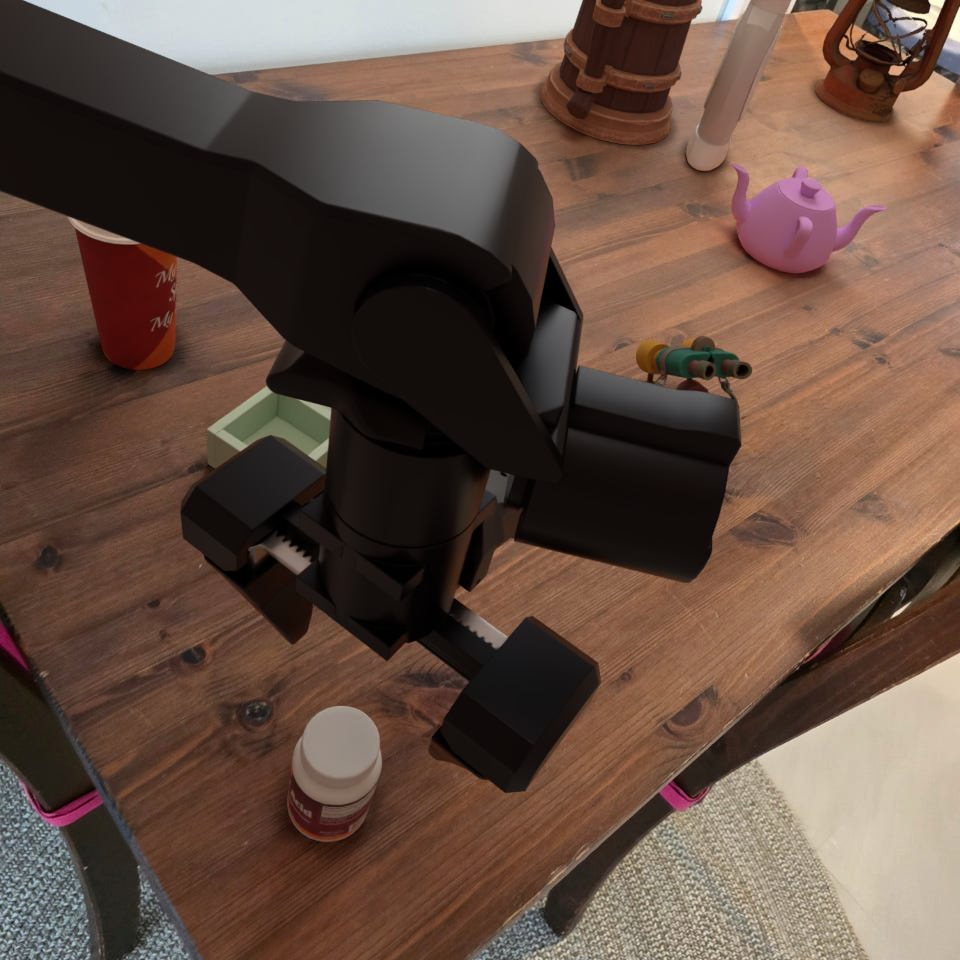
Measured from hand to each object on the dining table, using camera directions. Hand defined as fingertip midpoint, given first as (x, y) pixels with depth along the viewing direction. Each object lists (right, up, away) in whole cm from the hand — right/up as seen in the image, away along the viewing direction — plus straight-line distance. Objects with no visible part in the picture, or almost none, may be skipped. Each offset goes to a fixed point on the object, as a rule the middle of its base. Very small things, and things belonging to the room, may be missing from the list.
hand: (366, 691), depth 44 cm
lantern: (+65, +70, +97) cm, 136 cm away
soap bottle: (+36, +53, +74) cm, 98 cm away
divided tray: (-3, +14, +28) cm, 31 cm away
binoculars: (+23, +16, +37) cm, 46 cm away
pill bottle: (-3, -8, +8) cm, 12 cm away
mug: (+22, +59, +75) cm, 98 cm away
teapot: (+40, +38, +61) cm, 83 cm away
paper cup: (-22, +21, +29) cm, 43 cm away
